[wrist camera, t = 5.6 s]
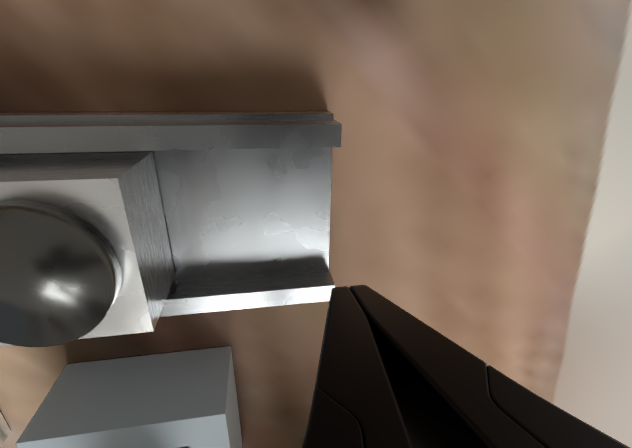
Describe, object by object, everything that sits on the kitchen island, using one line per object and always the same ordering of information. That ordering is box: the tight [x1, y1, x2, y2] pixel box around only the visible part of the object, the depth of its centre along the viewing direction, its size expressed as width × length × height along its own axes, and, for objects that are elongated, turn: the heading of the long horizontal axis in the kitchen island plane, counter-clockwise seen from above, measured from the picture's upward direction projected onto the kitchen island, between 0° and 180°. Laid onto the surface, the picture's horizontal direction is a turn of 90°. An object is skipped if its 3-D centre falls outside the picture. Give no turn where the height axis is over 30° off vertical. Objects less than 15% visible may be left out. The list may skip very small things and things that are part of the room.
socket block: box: [16, 346, 242, 448], centre depth 17 cm, size 8×8×4 cm
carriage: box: [0, 152, 175, 347], centre depth 11 cm, size 5×5×4 cm
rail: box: [0, 111, 342, 317], centre depth 13 cm, size 14×8×3 cm, turn 89°
